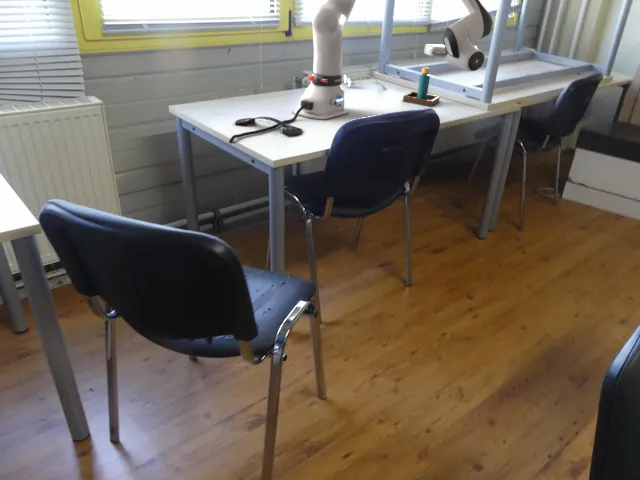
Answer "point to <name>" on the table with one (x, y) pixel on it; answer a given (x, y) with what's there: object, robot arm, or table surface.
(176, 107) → the table surface
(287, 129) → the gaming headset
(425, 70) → the toy figure
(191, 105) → the table surface
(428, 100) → the tray
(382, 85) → the eyeglasses
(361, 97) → the table surface
